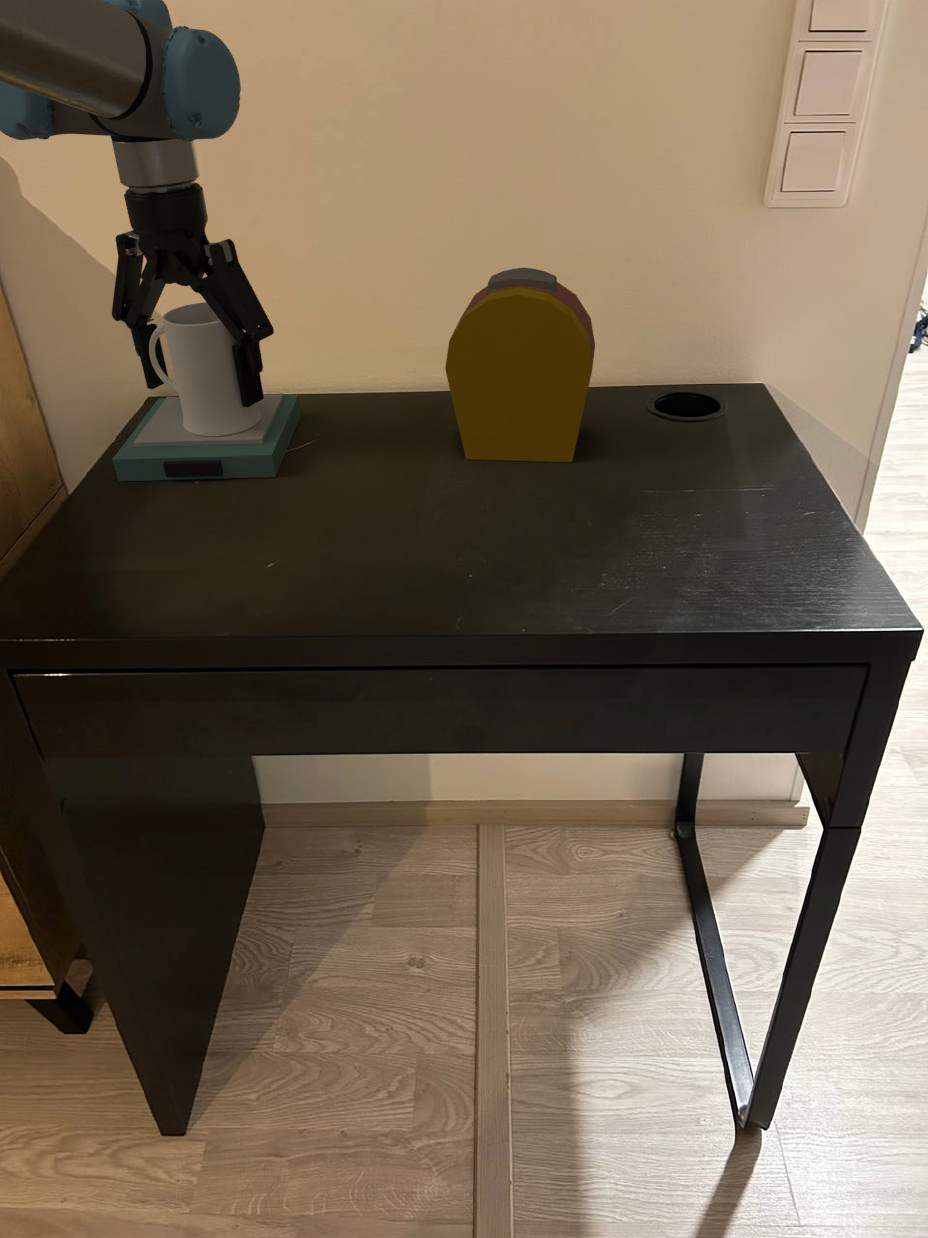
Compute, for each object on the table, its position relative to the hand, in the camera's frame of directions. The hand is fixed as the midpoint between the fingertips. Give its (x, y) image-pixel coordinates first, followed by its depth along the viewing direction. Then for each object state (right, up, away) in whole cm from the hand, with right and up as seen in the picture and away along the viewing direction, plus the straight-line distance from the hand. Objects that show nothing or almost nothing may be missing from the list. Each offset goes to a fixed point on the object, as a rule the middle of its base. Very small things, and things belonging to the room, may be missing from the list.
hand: (204, 393), depth 105 cm
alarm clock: (+35, -6, 0) cm, 36 cm away
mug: (0, -3, +2) cm, 3 cm away
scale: (0, -5, +4) cm, 6 cm away
